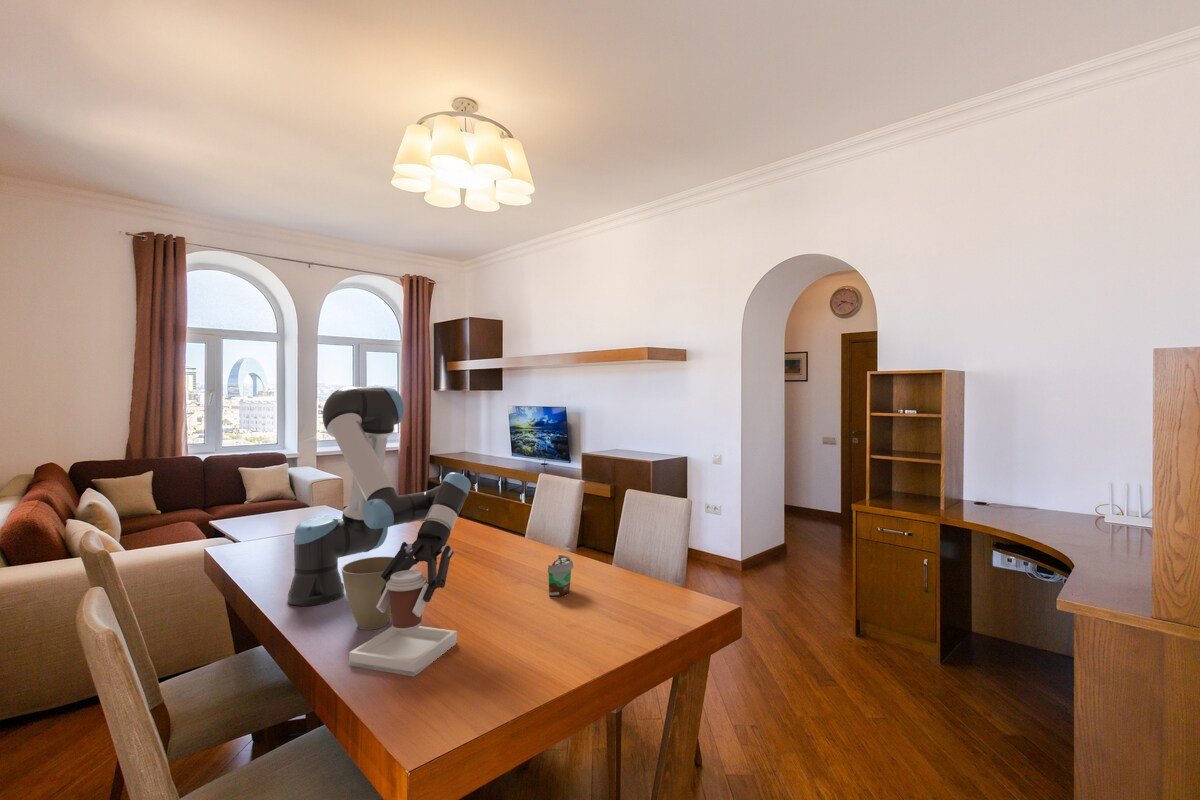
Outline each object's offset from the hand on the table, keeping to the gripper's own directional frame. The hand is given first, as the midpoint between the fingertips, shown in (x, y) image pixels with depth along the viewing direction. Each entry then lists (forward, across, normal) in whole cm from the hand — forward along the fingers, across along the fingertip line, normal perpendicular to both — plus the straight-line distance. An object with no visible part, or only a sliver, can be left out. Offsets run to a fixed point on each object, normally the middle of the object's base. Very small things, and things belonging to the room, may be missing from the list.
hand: (398, 612), depth 127 cm
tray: (+5, +1, -10) cm, 12 cm away
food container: (-29, -20, -45) cm, 57 cm away
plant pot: (-3, +20, -19) cm, 27 cm away
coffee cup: (+1, 0, -6) cm, 6 cm away
